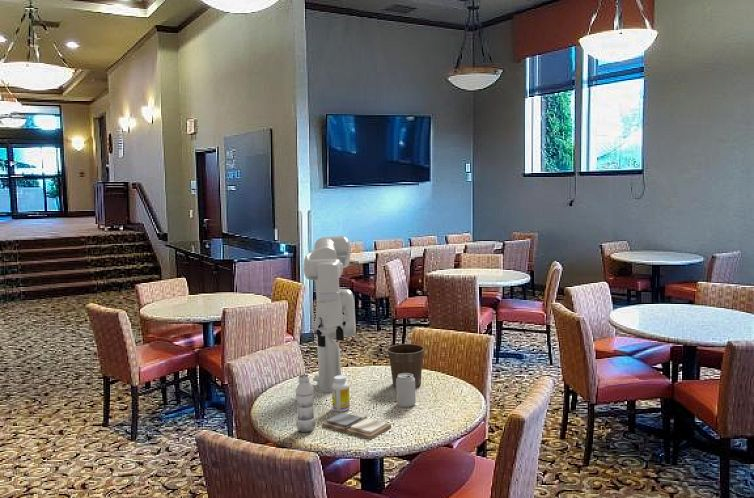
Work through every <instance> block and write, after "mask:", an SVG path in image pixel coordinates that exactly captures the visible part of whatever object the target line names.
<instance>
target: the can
mask: <svg viewBox="0 0 754 498" xmlns="http://www.w3.org/2000/svg"><path fill="white" fill-rule="evenodd" d="M395 389H396V394H395V395H396V404H397V405H398V406H399V407H401V408H412V407H414V405H415V404H416V403H417V402H416V401H417V400H416V388H415V378H414V377H413V374H410V373H402V374H399V375H398V377H397V378H396V387H395Z"/></svg>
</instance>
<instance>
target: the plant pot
mask: <svg viewBox="0 0 754 498" xmlns="http://www.w3.org/2000/svg"><path fill="white" fill-rule="evenodd" d="M424 351H425V346H423V345H420V344H417V343H415V344H414V343H401V344H394V345H390V346H388V347H387V348H386V352H387V355H388V359H389V364H390V371H391V378H392V379H391V380H392V386H393V387H394V388H396V378H397V377H398V375H399V374H402V373H410V374H413V377H414V378H415V389H416V388H419V386H421V385H422V372H423V371H422V368H423V358H424Z"/></svg>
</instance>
